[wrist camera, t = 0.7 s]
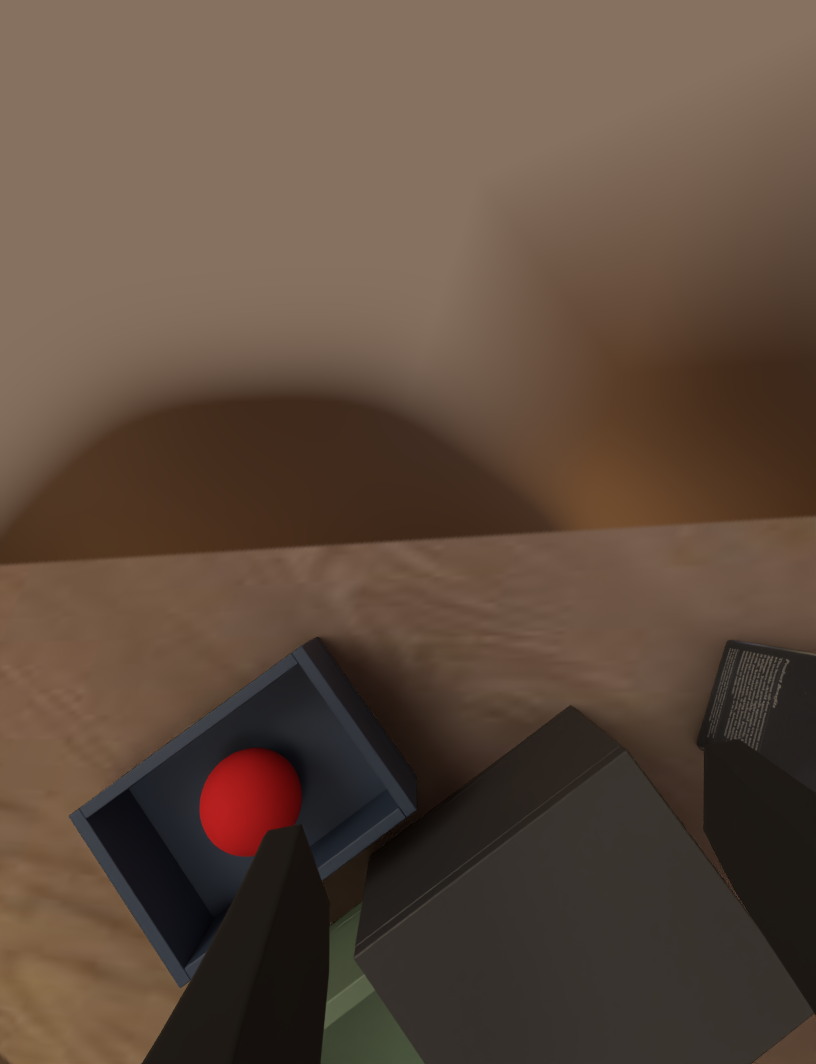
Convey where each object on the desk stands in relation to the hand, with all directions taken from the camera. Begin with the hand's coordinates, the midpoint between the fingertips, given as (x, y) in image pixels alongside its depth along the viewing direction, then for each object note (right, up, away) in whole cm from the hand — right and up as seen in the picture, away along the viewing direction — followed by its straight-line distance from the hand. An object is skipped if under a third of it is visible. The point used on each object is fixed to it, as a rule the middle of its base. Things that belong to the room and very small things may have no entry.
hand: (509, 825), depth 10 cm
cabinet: (+5, -13, +20) cm, 25 cm away
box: (-9, -8, +21) cm, 24 cm away
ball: (-9, -8, +18) cm, 22 cm away
